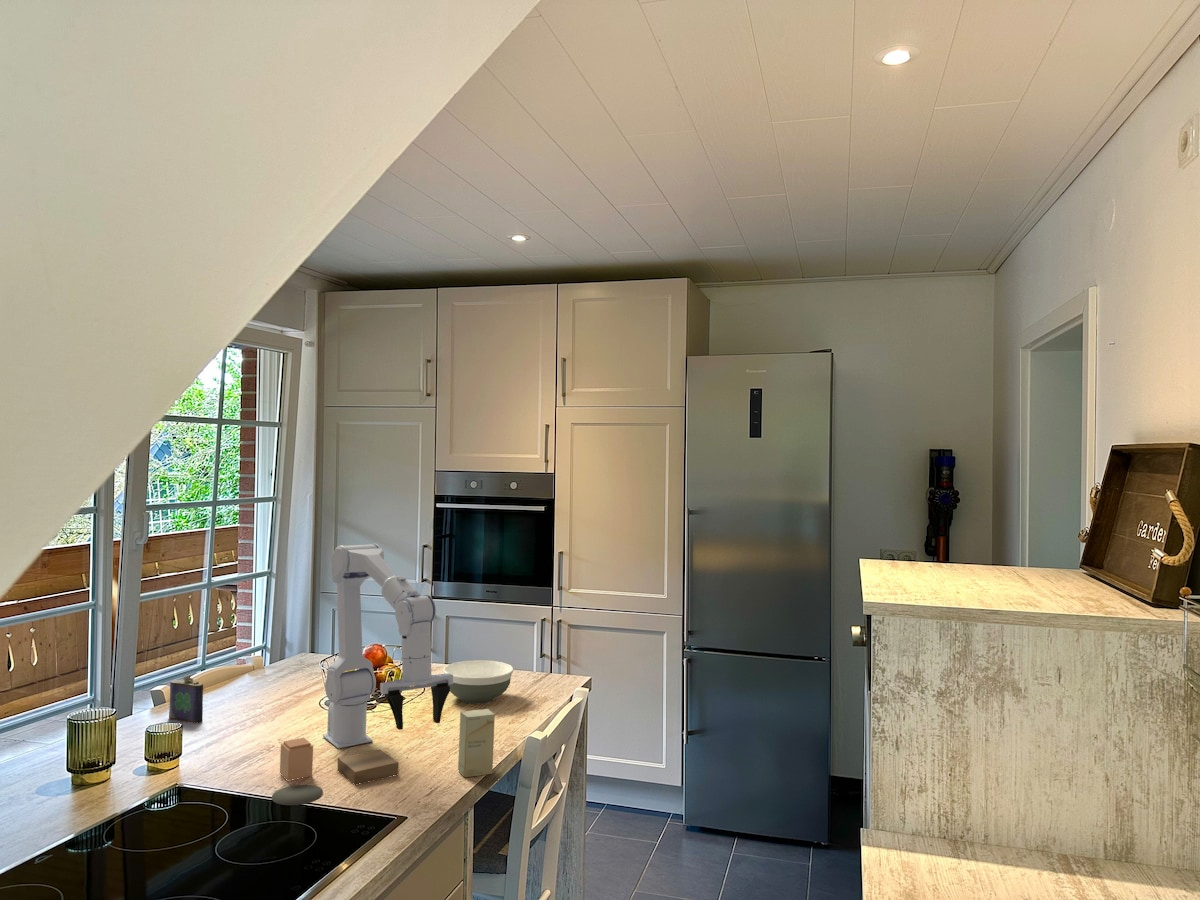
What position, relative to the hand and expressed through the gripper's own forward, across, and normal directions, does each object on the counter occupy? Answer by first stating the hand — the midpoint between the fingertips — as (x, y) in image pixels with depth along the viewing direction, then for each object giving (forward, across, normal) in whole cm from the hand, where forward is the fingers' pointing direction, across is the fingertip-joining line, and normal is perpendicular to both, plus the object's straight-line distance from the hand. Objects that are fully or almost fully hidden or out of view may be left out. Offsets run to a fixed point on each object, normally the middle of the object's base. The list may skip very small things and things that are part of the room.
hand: (418, 725), depth 164 cm
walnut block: (+10, -8, +7) cm, 15 cm away
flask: (+4, -38, +58) cm, 70 cm away
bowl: (+7, +31, +45) cm, 55 cm away
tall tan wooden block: (+8, -21, +12) cm, 26 cm away
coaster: (+10, -23, +2) cm, 25 cm away
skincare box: (+11, +11, -2) cm, 16 cm away
